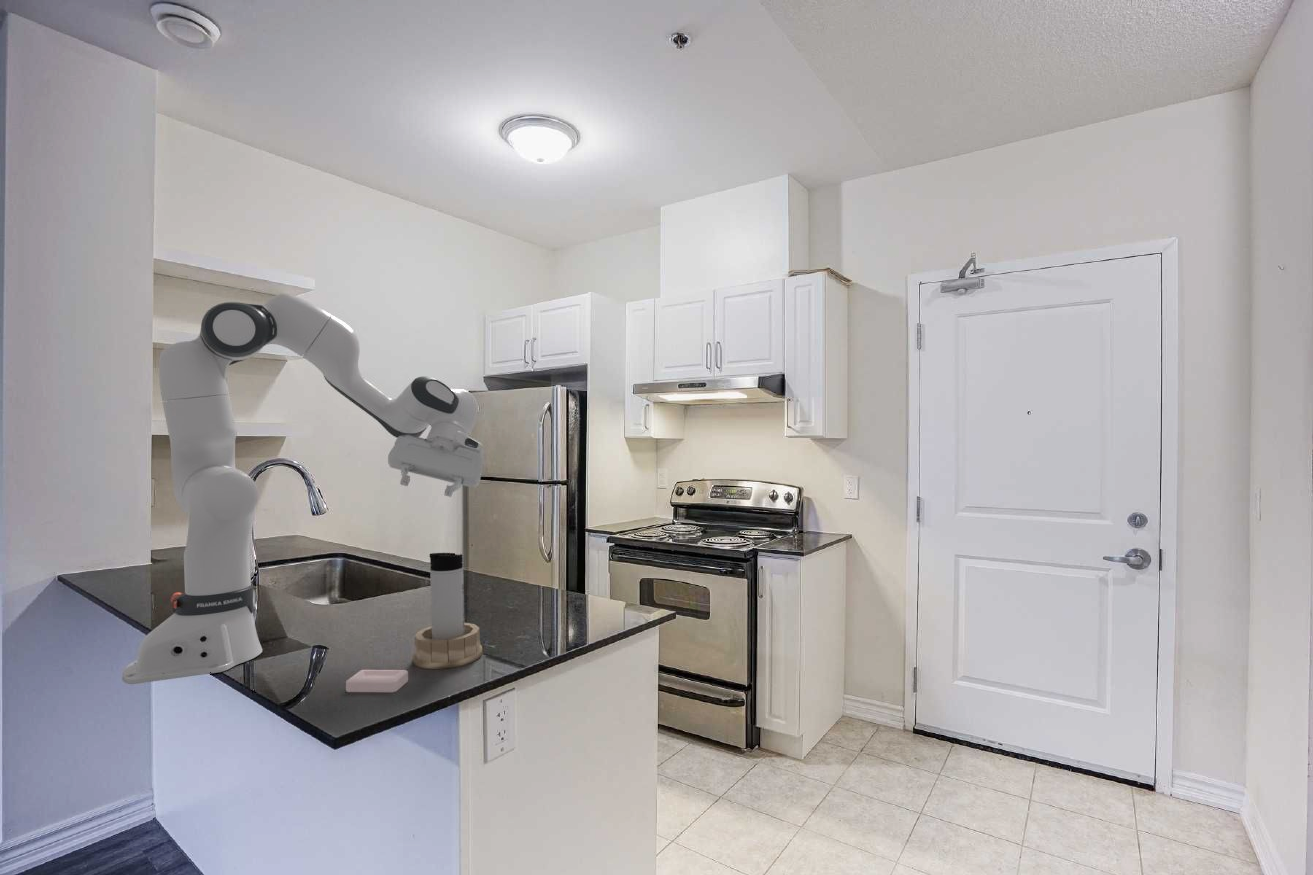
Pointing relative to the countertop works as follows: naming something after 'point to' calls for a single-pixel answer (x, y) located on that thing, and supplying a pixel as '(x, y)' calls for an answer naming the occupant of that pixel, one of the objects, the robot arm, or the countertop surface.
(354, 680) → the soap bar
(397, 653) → the countertop surface
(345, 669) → the countertop surface
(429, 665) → the cup holder
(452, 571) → the travel mug
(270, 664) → the countertop surface
